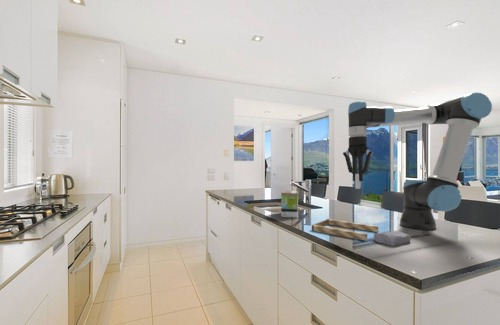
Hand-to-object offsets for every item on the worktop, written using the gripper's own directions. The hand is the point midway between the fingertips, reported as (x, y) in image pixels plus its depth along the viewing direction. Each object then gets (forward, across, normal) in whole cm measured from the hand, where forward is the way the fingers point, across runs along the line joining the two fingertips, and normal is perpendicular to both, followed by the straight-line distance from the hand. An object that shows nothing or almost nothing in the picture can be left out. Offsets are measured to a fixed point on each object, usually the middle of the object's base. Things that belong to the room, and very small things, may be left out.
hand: (358, 188), depth 113 cm
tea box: (+21, -46, +15) cm, 53 cm away
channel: (+20, -6, 0) cm, 21 cm away
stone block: (+21, +14, -3) cm, 25 cm away
